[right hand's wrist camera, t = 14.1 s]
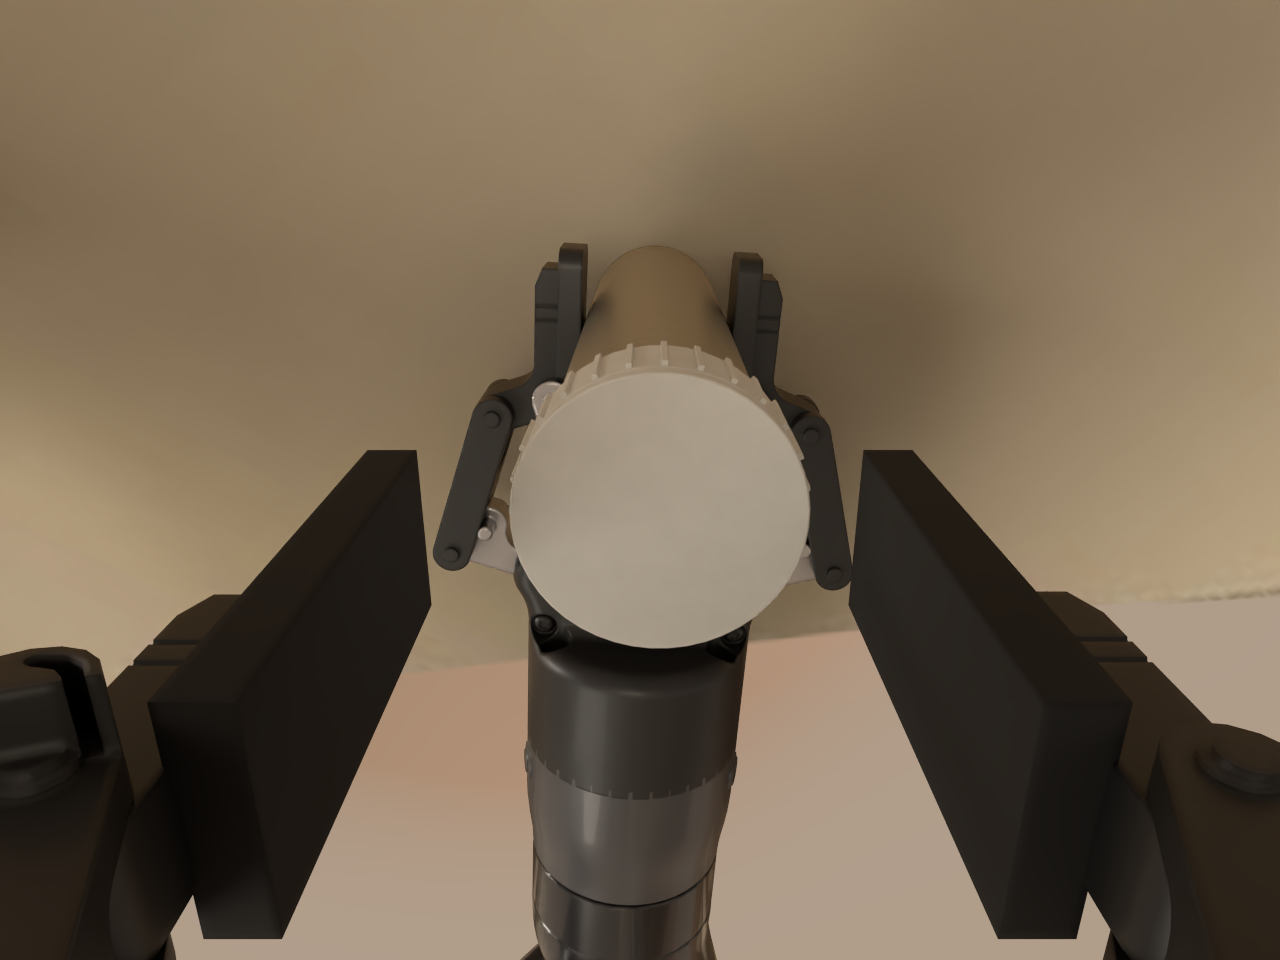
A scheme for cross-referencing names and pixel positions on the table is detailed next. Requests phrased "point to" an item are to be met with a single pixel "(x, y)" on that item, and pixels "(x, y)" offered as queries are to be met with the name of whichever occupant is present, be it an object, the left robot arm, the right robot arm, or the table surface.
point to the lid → (659, 498)
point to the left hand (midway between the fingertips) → (661, 253)
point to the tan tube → (654, 308)
